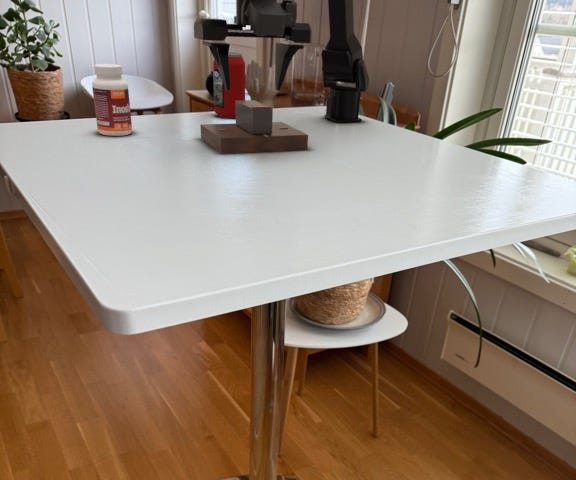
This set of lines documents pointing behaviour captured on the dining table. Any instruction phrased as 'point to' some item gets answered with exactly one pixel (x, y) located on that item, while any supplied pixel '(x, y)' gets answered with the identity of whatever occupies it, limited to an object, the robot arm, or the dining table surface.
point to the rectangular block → (254, 116)
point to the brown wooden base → (253, 138)
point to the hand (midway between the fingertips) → (253, 90)
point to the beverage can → (227, 99)
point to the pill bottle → (111, 100)
